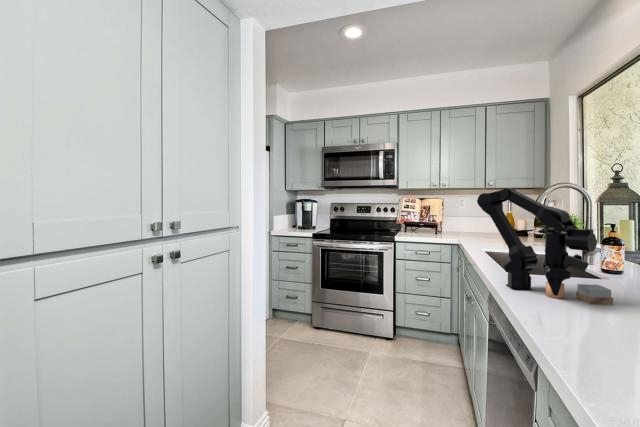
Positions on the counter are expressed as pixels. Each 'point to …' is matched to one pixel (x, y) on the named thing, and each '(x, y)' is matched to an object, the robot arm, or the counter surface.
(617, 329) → the counter surface
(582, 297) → the base slab
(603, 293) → the top slab
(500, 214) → the robot arm
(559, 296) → the tan rounded lump
